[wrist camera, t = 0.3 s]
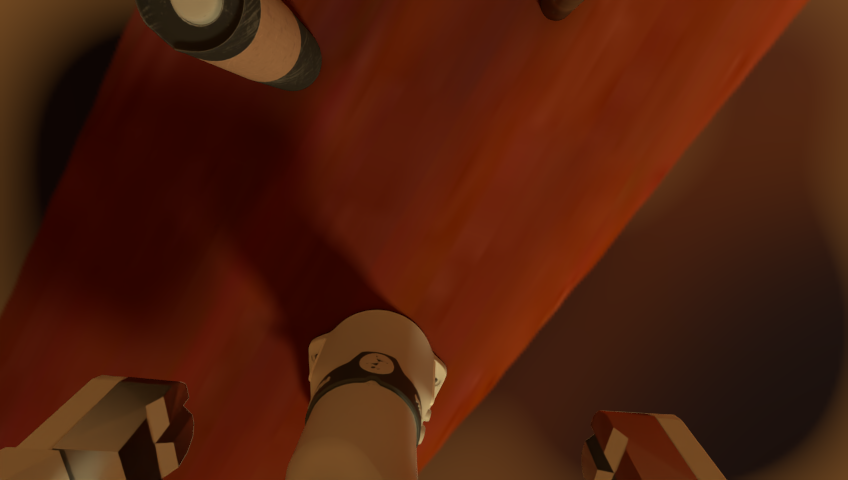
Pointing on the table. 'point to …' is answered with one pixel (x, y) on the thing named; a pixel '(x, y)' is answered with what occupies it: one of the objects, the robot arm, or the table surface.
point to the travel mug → (239, 38)
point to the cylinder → (558, 8)
